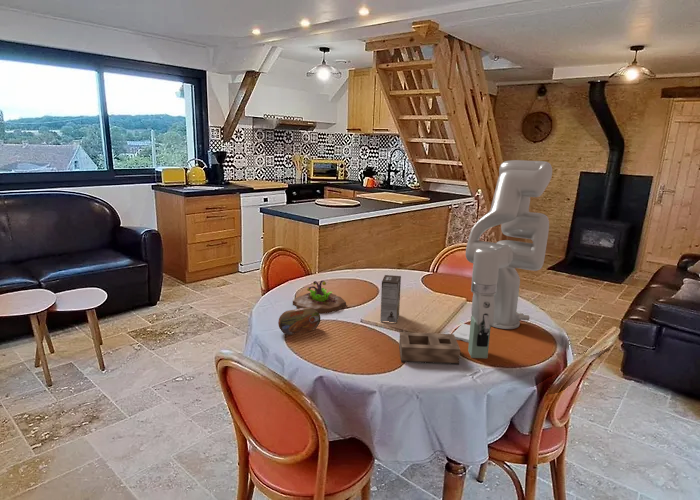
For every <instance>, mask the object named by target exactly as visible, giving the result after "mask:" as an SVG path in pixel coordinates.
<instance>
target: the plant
mask: <svg viewBox="0 0 700 500" xmlns="http://www.w3.org/2000/svg"><path fill="white" fill-rule="evenodd" d="M322 285H323V286H326V285H327V282H326V281H325V280H322V279H321V280H320V281H319V282H318V281H317V280H314V281H313V282H312V286H309V287H307V288H306V290H307V291H309V292H307V293H304V294H302V295H299V296H297V297H295V298H294V299H293V300H292V306H294V307H296V309H300V308H306V307H311V308H313V309H315V310H317V311H318V312H319V314H320V315H321V314H331V313H335V312H339V311H340V309H343V308H346V307H347V302H346V300H344V298H343V297H341V296H338V295H337V294H333V291H327V288H324V287H322ZM313 289H314V290H313Z"/></svg>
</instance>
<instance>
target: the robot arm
mask: <svg viewBox="0 0 700 500" xmlns="http://www.w3.org/2000/svg"><path fill="white" fill-rule="evenodd" d="M498 169H499V171H498V173H499V174H498V177H497V181H496V184H495V185H496V186H495V190H494V193H493V198H492V201H491V204H490V205H491V206H490V209H489V211H488V212H487V213H486V214H484V215H482V216H481V217H480V218H479V219H478V220H477V222H475V224H474V225H473V226H472V228H471V230H470V232H469V234H468V235H469V236H468V240H467V243H466V245H465V247H466V248H465V259H466V260H467V262H469V263H471V264H472V272H471V275H472V276H471V285H470V291H471V293H472V294H473V295H472V301H471V316H473V318H474V320H475V321H476V324H477V325H478V326H479V334H478V335H477V346H479V347H487V346H488V336H489V329H490V330H491V328H490V326H491V327H493V328H496V329H502V330H513V329H517V328H519V327H520V324H521V322H520V321H530V315H528V314H527V315H526V314H524V313H522V312H521V313H518V311H517V310H518V302H519V293H520V284H521V280H520V279H521V278H520V275H519V272H518V271H517V270H516V269H521V270H526V271H536V272H537V271H539V270H541V269H542V268H543V266H544V263H545V257H546V252H547V250H546V249H547V243H548V238H549V232H550V231H549V230H550V221H549V219H550V218H549V217H548V216H547V215H546V214H544V213H541V212H531V211H530V203H531V198H539V197H541V196H542V195H543V193H544V192H545V190H546V188H547V187H548V186H549V184H550V182H551V180H552V176H553V166H552V165H551V163H550V162H548V161H542V160H526V159H525V160H523V159H513V160H505V161H503V162H501V163H500V165H499V168H498ZM496 226H500V229H501V233H502V234H503V235H504V236H506V237H510V238H511V237H512V238H519V239H527V240H531V241H532V242H526V241H525V242H524V241H518V240H517V241H516V240H510V239H509V240H508V239H505V240H499V241H497V242H493V241H484V240H483V241H482V240H480V238H481V236H482V235H483V234H484V233H485V232H486V231H487V230H489V229H492V228H494V227H496ZM481 323H484V324H481ZM489 325H490V326H489ZM481 327H484V329H482V330H481Z"/></svg>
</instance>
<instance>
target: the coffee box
mask: <svg viewBox="0 0 700 500" xmlns="http://www.w3.org/2000/svg"><path fill="white" fill-rule="evenodd" d="M401 281H402V276H401V275H390V274H389V275H388V274H384V276H383V279H382V280H381V293H380V295H381V296H380V299H381V300H380V321H389V322H397V323H398V321H399V317H400V308H401V307H400V303H401ZM398 316H399V317H398ZM397 320H398V321H397ZM380 321H379V322H380Z"/></svg>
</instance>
